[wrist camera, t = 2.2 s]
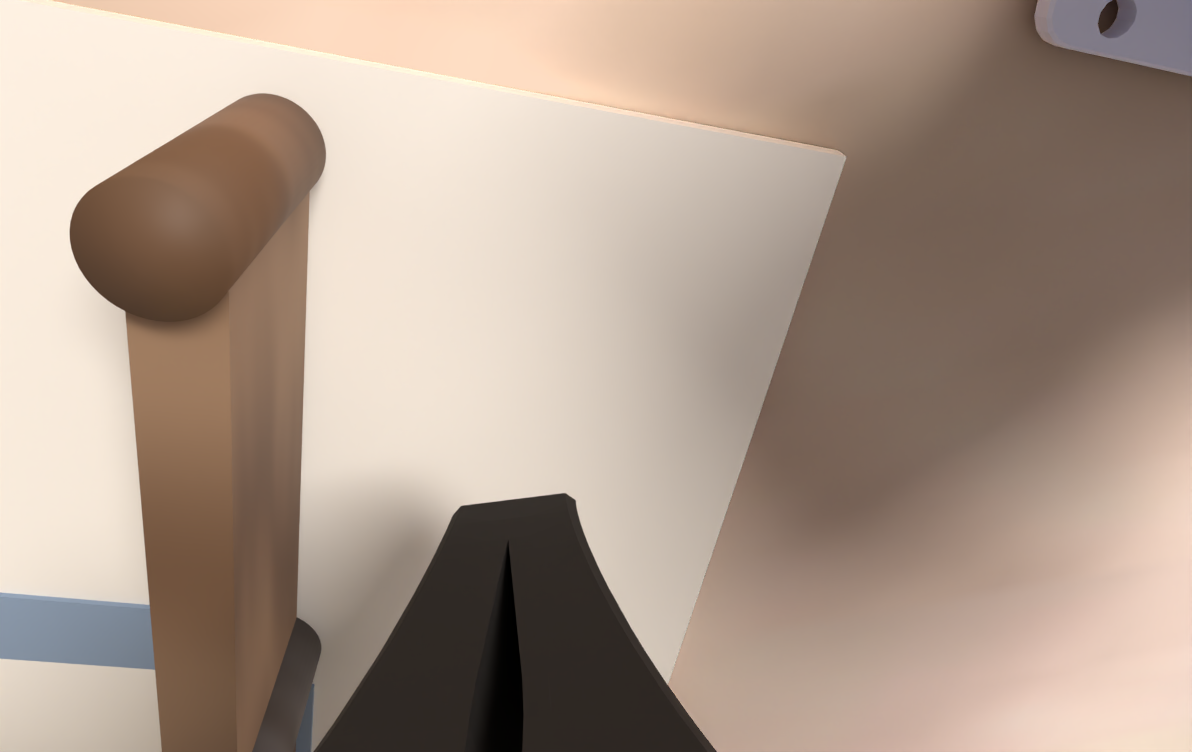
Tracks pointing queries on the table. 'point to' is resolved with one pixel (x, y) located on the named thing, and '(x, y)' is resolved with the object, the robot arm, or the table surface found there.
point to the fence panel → (214, 397)
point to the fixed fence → (290, 691)
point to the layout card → (386, 344)
